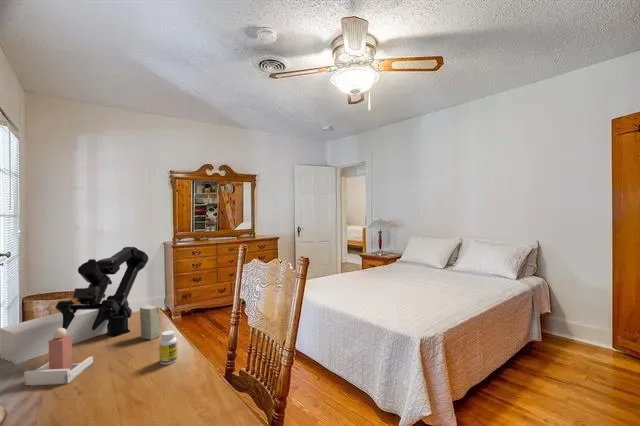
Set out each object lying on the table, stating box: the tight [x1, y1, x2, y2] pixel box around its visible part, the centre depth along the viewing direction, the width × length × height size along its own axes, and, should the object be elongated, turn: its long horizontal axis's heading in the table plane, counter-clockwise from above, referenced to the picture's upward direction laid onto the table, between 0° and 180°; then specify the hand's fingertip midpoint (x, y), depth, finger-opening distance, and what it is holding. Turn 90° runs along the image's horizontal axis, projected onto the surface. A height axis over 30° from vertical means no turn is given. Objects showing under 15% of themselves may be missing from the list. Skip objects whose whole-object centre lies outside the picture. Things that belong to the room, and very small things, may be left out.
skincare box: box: [139, 304, 161, 340], centre depth 129 cm, size 6×4×12 cm
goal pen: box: [23, 356, 94, 386], centre depth 101 cm, size 12×12×4 cm
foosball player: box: [48, 328, 73, 371], centre depth 101 cm, size 4×4×14 cm
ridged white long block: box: [0, 309, 108, 365], centre depth 124 cm, size 32×11×11 cm, turn 154°
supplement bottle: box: [158, 330, 178, 365], centre depth 109 cm, size 5×5×10 cm
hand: (78, 330), depth 109 cm, fingers open, 9 cm apart
